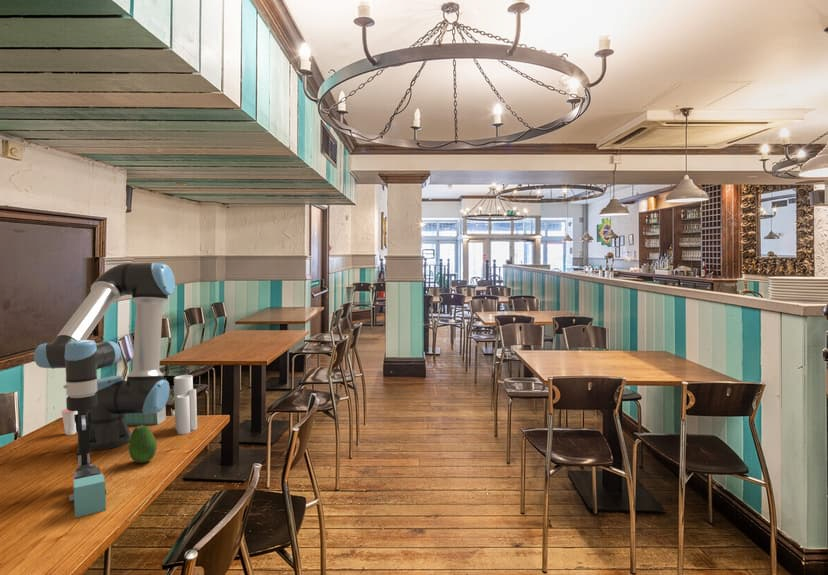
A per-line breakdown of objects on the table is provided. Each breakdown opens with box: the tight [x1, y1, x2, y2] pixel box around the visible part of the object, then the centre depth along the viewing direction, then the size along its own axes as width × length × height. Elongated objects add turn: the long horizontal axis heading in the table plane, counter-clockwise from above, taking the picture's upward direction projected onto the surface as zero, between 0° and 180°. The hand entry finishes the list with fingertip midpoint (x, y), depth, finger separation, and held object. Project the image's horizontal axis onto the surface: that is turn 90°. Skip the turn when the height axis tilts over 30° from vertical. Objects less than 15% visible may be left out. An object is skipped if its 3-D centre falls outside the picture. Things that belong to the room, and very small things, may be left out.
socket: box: [72, 473, 107, 519], centre depth 132 cm, size 6×7×8 cm
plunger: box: [74, 463, 97, 476], centre depth 138 cm, size 17×6×6 cm, turn 36°
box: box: [124, 405, 167, 426], centre depth 205 cm, size 7×14×8 cm, turn 91°
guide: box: [68, 466, 107, 504], centre depth 139 cm, size 4×8×7 cm, turn 126°
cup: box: [61, 408, 78, 436], centre depth 191 cm, size 5×5×12 cm
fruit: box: [128, 425, 158, 464], centre depth 163 cm, size 8×8×12 cm
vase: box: [173, 374, 198, 435], centre depth 195 cm, size 11×7×20 cm, turn 33°
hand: (84, 475), depth 147 cm, fingers closed
